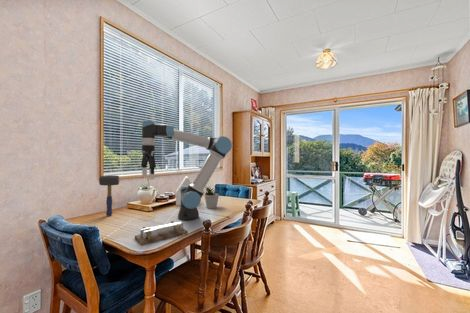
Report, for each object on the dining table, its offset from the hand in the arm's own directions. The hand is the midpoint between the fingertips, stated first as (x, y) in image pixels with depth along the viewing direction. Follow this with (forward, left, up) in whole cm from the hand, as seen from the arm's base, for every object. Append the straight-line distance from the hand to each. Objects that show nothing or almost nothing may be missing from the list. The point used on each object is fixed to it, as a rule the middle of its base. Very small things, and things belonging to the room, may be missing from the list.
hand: (148, 178), depth 138 cm
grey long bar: (-2, +22, -29) cm, 36 cm away
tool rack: (-1, +22, -31) cm, 37 cm away
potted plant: (-60, -17, -31) cm, 70 cm away
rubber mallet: (+14, -42, -31) cm, 54 cm away
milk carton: (-51, -45, -31) cm, 75 cm away
